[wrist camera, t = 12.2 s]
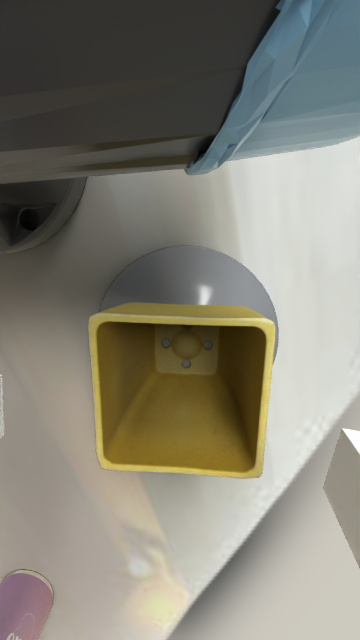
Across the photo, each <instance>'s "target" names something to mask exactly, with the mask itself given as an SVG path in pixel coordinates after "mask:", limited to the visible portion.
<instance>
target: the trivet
mask: <svg viewBox="0 0 360 640" xmlns="http://www.w3.org/2000/svg"><path fill="white" fill-rule="evenodd" d="M133 302H138V303H159V304H186V305H236V306H244V307H247V308H249V309H251V310H253V311H255V312H257V313H259V314H261V315H262V316H264V317H266V318H268V319H270V320H271V321H273V322H274V324H275V345H274V354H273V363H274V360H275V357H276V353H277V347H278V322H277V317H276V313H275V309H274V306H273V304H272V301H271V299H270V297H269V295H268V293H267V292H266V290H265V288H264V287H263V285H262V284H261V283H260V281H259V280H258V279H257V278H256V277H255V275H254V274H252V273H251V272H250V271H249V270H248V269H247V268H246V267H245V266H243V265H242V264H241V263H239V262H238V261H236V260H235V259H233V258H231V257H229V256H227V255H225V254H223V253H221V252H218V251H215V250H212V249H208V248H203V247H198V246H175V247H170V248H165V249H160V250H158V251H155V252H152V253H149V254H147V255H145V256H143V257H141V258H139V259H137V260H136V261H135V262H133V263H132V264H130V265H129V266H128V267H126V268H125V269H124V270H123V271H122V272H121V273H120V274H119V275H118V276H117V278H116V279H115V280H114V281H113V283H112V284H111V285H110V287H109V289H108V290H107V292H106V294H105V296H104V299H103V301H102V303H101V306H100V310H99V312H101V311H104V310H107V309H110V308H113V307H116V306H119V305H122V304H125V303H133ZM184 326H185V327H190V326H191V325H184ZM169 344H170V342H169V341H168V340H164V341H163V345H164V346H165V347H168V346H169ZM204 346H205V347H206V348H210V347H211V346H212V344H211V342H209V341H207V342H205V344H204ZM183 365H184V366H185V367H188V366H189V365H190V362H189V361H188V360H185V361H184V362H183Z"/></svg>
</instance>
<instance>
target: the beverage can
mask: <svg viewBox="0 0 360 640" xmlns="http://www.w3.org/2000/svg"><path fill="white" fill-rule="evenodd" d="M52 604H53V591H52V587H51V585H50V583H49V582H48V581H47V579H45V578H44V577H43V576H42V575H40V574H38V573H36V572H33V571H29V570H18V571H15V572H13V573H11V574H9V575H8V576H7V577H5V578H4V579H3V580H2V581H1V583H0V640H38V638H39V635H40V633H41V630H42V628H43V626H44V623H45V621H46V618H47V616H48V614H49V611H50V609H51V607H52Z"/></svg>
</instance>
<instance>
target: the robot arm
mask: <svg viewBox="0 0 360 640" xmlns="http://www.w3.org/2000/svg"><path fill="white" fill-rule="evenodd" d="M358 136H360V0H0V254H4V253H14V252H19V251H24V250H27V249H30V248H32V247H35V246H37V245H39V244H41V243H43V242H44V241H46V240H47V239H49V238H50V237H51V236H53V235H54V234H55V233H56V232H57V231H58V230H59V229H60V228H61V227H62V226H63V225H64V224H65V223H66V221H67V220H68V219H69V218H70V216H71V215H72V213H73V211H74V210H75V208H76V206H77V204H78V202H79V200H80V197H81V195H82V192H83V189H84V185H85V182H86V177H90V176H101V175H113V174H125V173H137V172H149V171H161V170H173V169H184V170H185V172H186V173H187V175H198V174H205V173H208V172H210V171H212V170H214V169H216V168H218V167H219V166H220V165H221V164H222V163H224V162H225V161H231V160H238V159H244V158H251V157H258V156H265V155H272V154H279V153H285V152H292V151H299V150H306V149H313V148H320V147H326V146H330V145H335V144H339V143H342V142H345V141H348V140H350V139H353V138H356V137H358ZM3 436H4V410H3V384H2V375H0V439H1V438H2V437H3ZM323 489H324V491H325V493H326V495H327V497H328V499H329V502H330V504H331V506H332V508H333V511H334V513H335V515H336V517H337V519H338V522H339V524H340V526H341V528H342V530H343V533H344V535H345V537H346V539H347V541H348V543H349V546H350V548H351V550H352V552H353V554H354V557H355V559H356V561H357V563H358V565H359V568H360V431H356V430H349V429H342V430H341V433H340V436H339V439H338V442H337V445H336V449H335V452H334V455H333V458H332V461H331V464H330V467H329V471H328V474H327V477H326V480H325V483H324V486H323Z"/></svg>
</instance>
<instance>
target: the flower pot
mask: <svg viewBox="0 0 360 640" xmlns="http://www.w3.org/2000/svg"><path fill="white" fill-rule="evenodd" d="M184 325H191V326H190V327H185V326H184ZM88 334H89V350H90V359H91V373H92V385H93V400H94V414H95V436H96V453H97V458H98V462H99V464H100V467H101V468H103V469H107V470H117V471H142V472H169V473H184V474H197V475H205V476H216V477H230V478H259V477H260V476H261V474H262V470H263V461H264V447H265V436H266V424H267V414H268V403H269V394H270V383H271V373H272V366H273V354H274V345H275V324H274V322H273V321H271V320H270V319H268V318H266V317H264V316H262V315H261V314H259V313H257V312H255V311H253V310H251V309H249V308H247V307H244V306H236V305H186V304H159V303H138V302H133V303H125V304H122V305H119V306H116V307H113V308H110V309H107V310H104V311H101V312H98V313H96V314H94V315H92V316H91V317H90V318H89V322H88ZM164 340H168V341H169V342H170V344H169V346H168V347H165V346H164V345H163V341H164ZM207 341H209V342H211V344H212V346H211V347H210V348H206V347H205V346H204V344H205V342H207ZM185 360H188V361H189V362H190V365H189V366H188V367H185V366H184V365H183V362H184V361H185Z"/></svg>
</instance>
